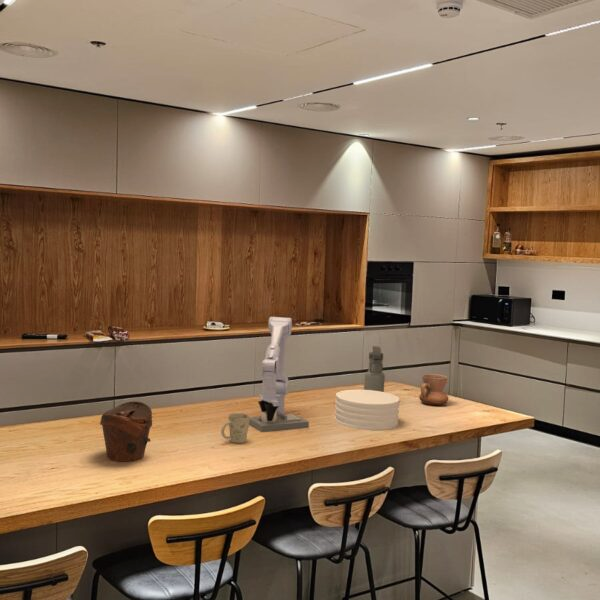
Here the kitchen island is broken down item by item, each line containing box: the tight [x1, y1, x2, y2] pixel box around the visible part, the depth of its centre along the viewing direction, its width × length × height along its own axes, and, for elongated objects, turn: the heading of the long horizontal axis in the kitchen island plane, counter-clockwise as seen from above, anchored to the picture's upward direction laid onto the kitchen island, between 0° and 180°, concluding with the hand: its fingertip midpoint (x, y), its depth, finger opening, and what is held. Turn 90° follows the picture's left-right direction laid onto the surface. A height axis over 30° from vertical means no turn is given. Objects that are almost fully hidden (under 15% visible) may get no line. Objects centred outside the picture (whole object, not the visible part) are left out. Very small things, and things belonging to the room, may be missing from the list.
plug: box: [261, 411, 277, 423], centre depth 295 cm, size 4×5×8 cm
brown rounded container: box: [99, 400, 153, 462], centre depth 246 cm, size 18×20×18 cm
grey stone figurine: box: [363, 345, 386, 392], centre depth 347 cm, size 10×10×28 cm
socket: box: [249, 413, 310, 433], centre depth 298 cm, size 14×22×2 cm, turn 119°
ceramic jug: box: [418, 373, 449, 406], centre depth 354 cm, size 18×14×14 cm
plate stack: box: [334, 389, 400, 431], centre depth 312 cm, size 28×28×12 cm
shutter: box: [276, 412, 302, 422], centre depth 300 cm, size 8×8×2 cm
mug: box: [220, 412, 251, 444], centre depth 271 cm, size 8×13×10 cm, turn 137°
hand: (267, 419), depth 295 cm, fingers closed on plug, 4 cm apart
